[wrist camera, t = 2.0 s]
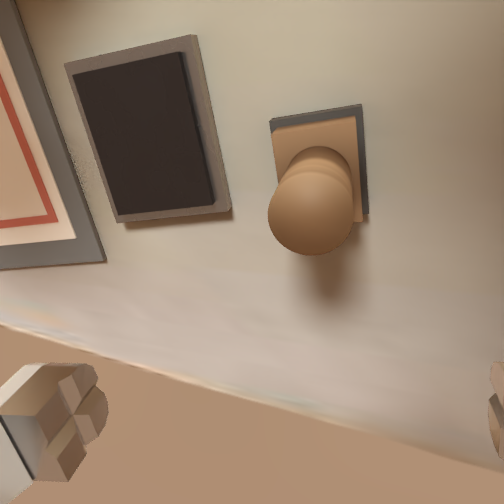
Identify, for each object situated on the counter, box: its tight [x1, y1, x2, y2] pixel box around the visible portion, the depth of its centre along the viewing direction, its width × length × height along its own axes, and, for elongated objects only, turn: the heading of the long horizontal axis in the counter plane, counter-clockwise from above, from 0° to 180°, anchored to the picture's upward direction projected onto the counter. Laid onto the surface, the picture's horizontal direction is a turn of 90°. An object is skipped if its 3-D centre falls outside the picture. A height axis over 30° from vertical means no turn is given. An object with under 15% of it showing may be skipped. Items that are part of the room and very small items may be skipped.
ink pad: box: [64, 34, 232, 223], centre depth 25 cm, size 10×8×2 cm
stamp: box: [268, 104, 369, 255], centre depth 20 cm, size 6×5×9 cm
